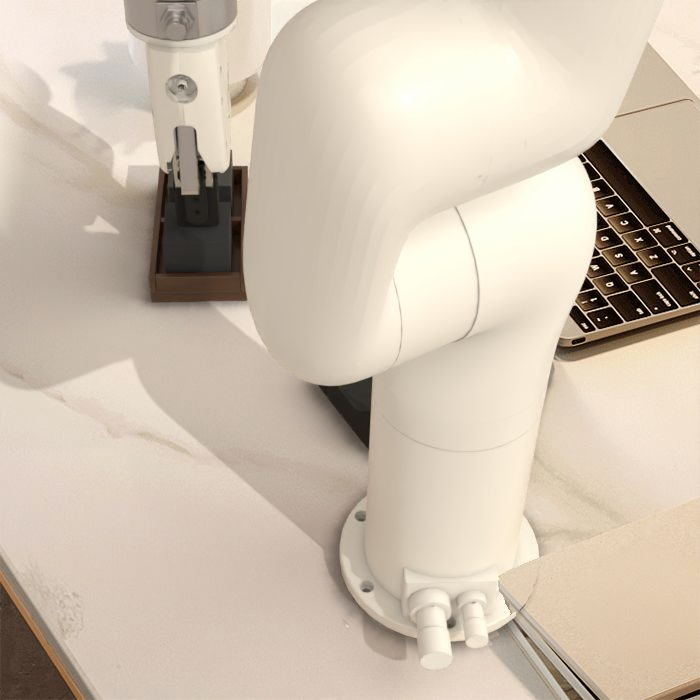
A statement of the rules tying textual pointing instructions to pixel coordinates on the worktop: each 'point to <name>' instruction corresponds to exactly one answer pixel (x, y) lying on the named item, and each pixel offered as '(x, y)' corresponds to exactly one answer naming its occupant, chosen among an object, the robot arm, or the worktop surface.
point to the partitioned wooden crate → (201, 284)
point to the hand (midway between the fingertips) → (198, 219)
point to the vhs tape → (353, 405)
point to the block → (197, 244)
